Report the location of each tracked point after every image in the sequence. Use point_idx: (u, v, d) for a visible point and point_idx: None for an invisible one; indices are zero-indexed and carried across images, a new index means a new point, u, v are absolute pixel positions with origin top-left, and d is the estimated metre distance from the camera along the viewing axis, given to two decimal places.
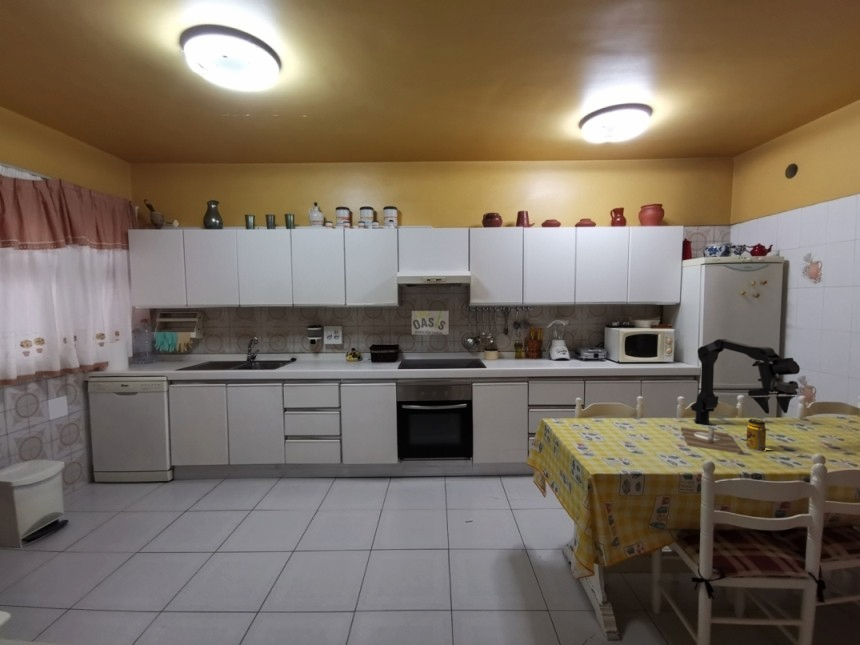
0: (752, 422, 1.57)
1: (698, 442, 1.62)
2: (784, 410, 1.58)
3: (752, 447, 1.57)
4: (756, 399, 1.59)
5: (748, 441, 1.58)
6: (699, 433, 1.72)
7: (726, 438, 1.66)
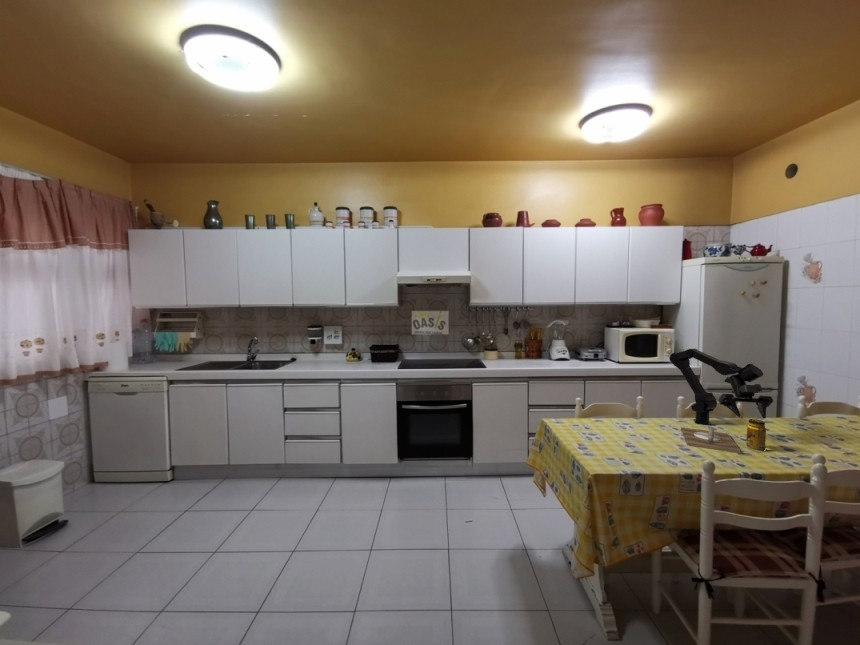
0: (752, 422, 1.57)
1: (698, 442, 1.62)
2: (763, 416, 1.62)
3: (752, 447, 1.57)
4: (728, 406, 1.69)
5: (748, 441, 1.58)
6: (699, 433, 1.72)
7: (726, 438, 1.66)
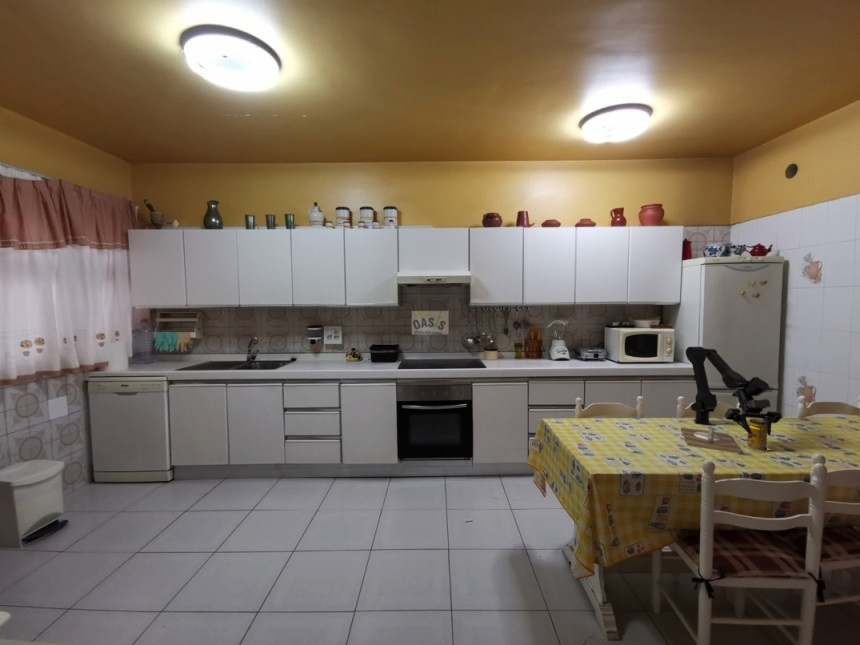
0: (753, 422, 1.56)
1: (698, 442, 1.62)
2: (768, 432, 1.56)
3: (753, 447, 1.56)
4: (738, 422, 1.63)
5: (749, 441, 1.58)
6: (699, 433, 1.72)
7: (726, 438, 1.66)
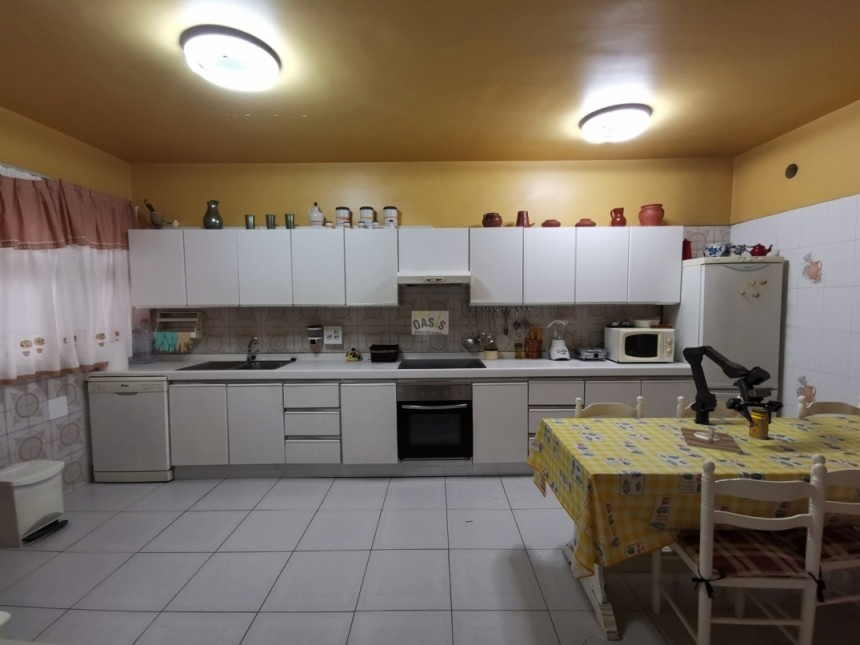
0: (755, 411, 1.56)
1: (698, 442, 1.62)
2: None
3: (755, 436, 1.56)
4: (739, 411, 1.62)
5: (751, 430, 1.58)
6: (699, 433, 1.72)
7: (726, 438, 1.66)
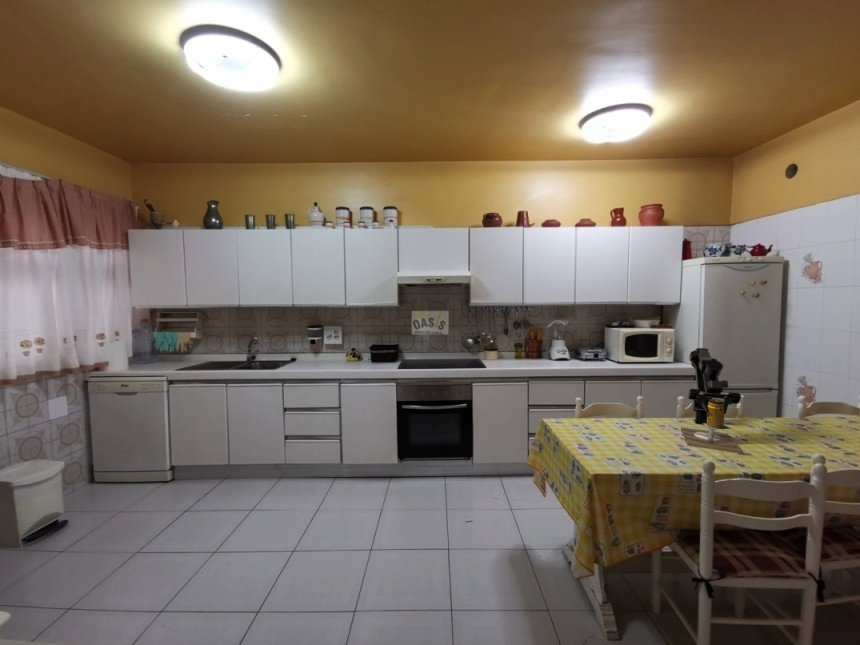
0: (710, 401, 1.65)
1: (698, 442, 1.62)
2: (724, 411, 1.64)
3: (710, 425, 1.65)
4: (699, 401, 1.72)
5: (707, 419, 1.67)
6: (699, 433, 1.72)
7: (726, 438, 1.66)
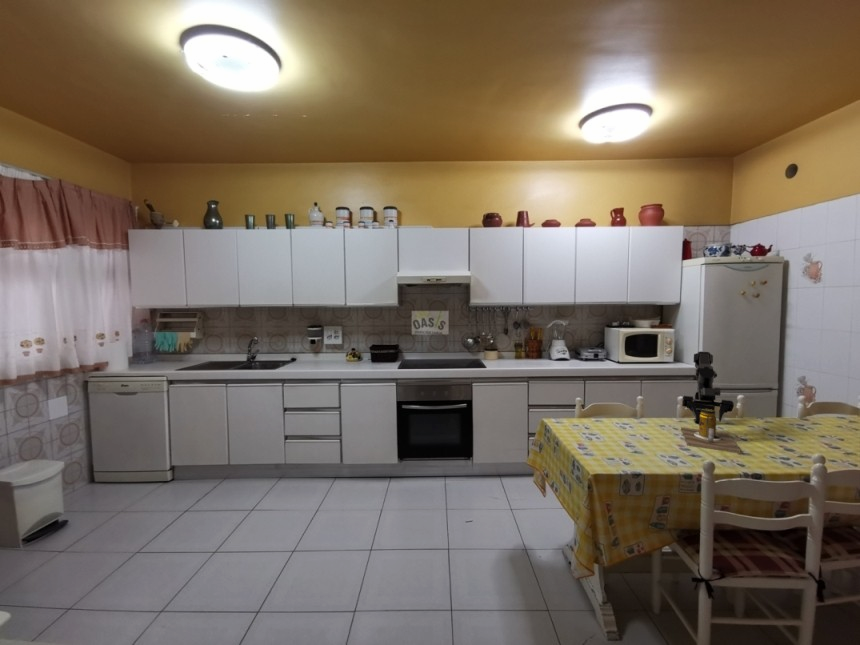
0: (702, 411, 1.68)
1: (698, 442, 1.62)
2: (719, 419, 1.65)
3: (702, 434, 1.68)
4: (690, 408, 1.74)
5: (699, 429, 1.69)
6: None
7: (726, 438, 1.66)
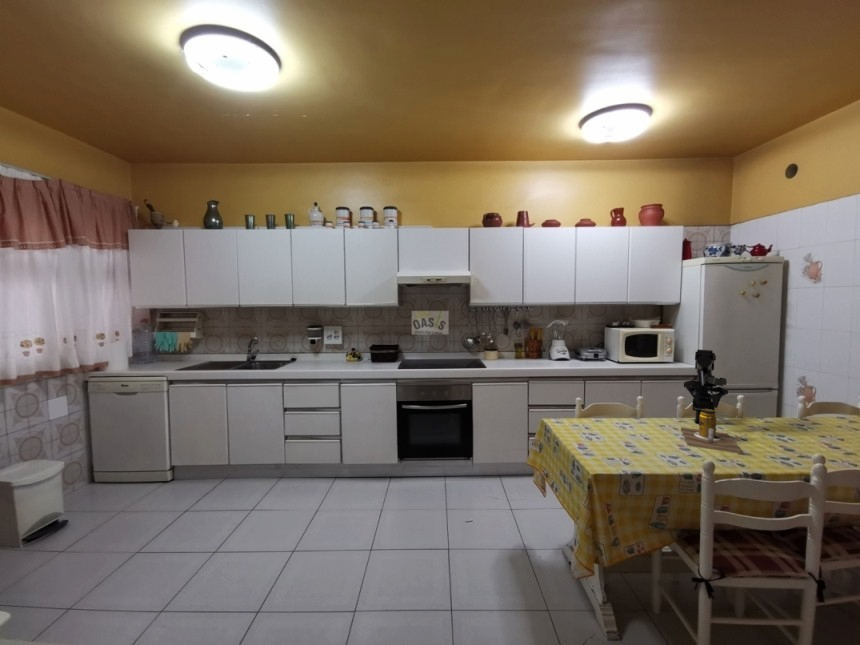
0: (702, 411, 1.68)
1: (698, 442, 1.62)
2: (715, 405, 1.77)
3: (702, 434, 1.68)
4: (690, 390, 1.79)
5: (699, 429, 1.69)
6: None
7: (726, 438, 1.66)
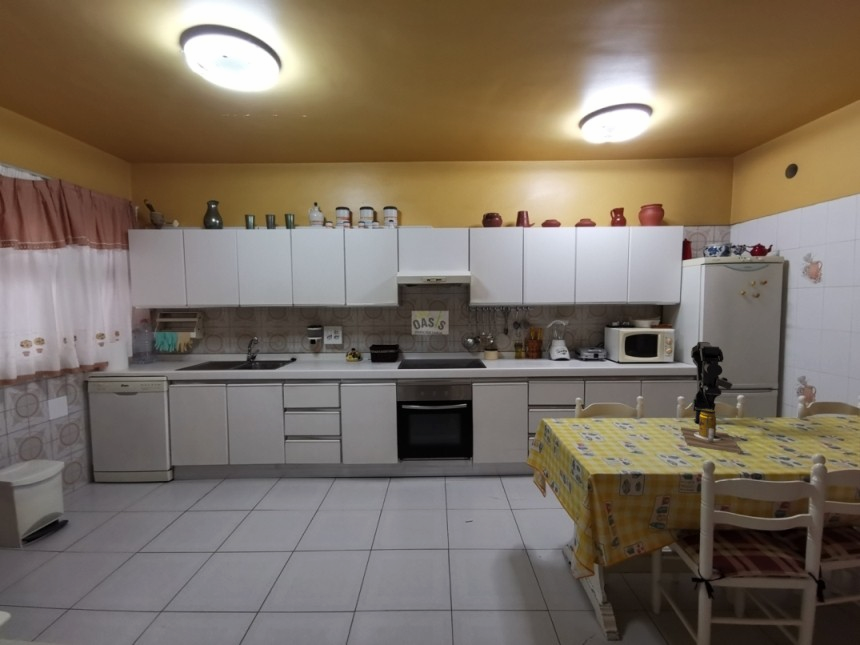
0: (702, 411, 1.68)
1: (698, 442, 1.62)
2: (706, 400, 1.81)
3: (702, 434, 1.68)
4: (706, 395, 1.72)
5: (699, 429, 1.69)
6: None
7: (726, 438, 1.66)
